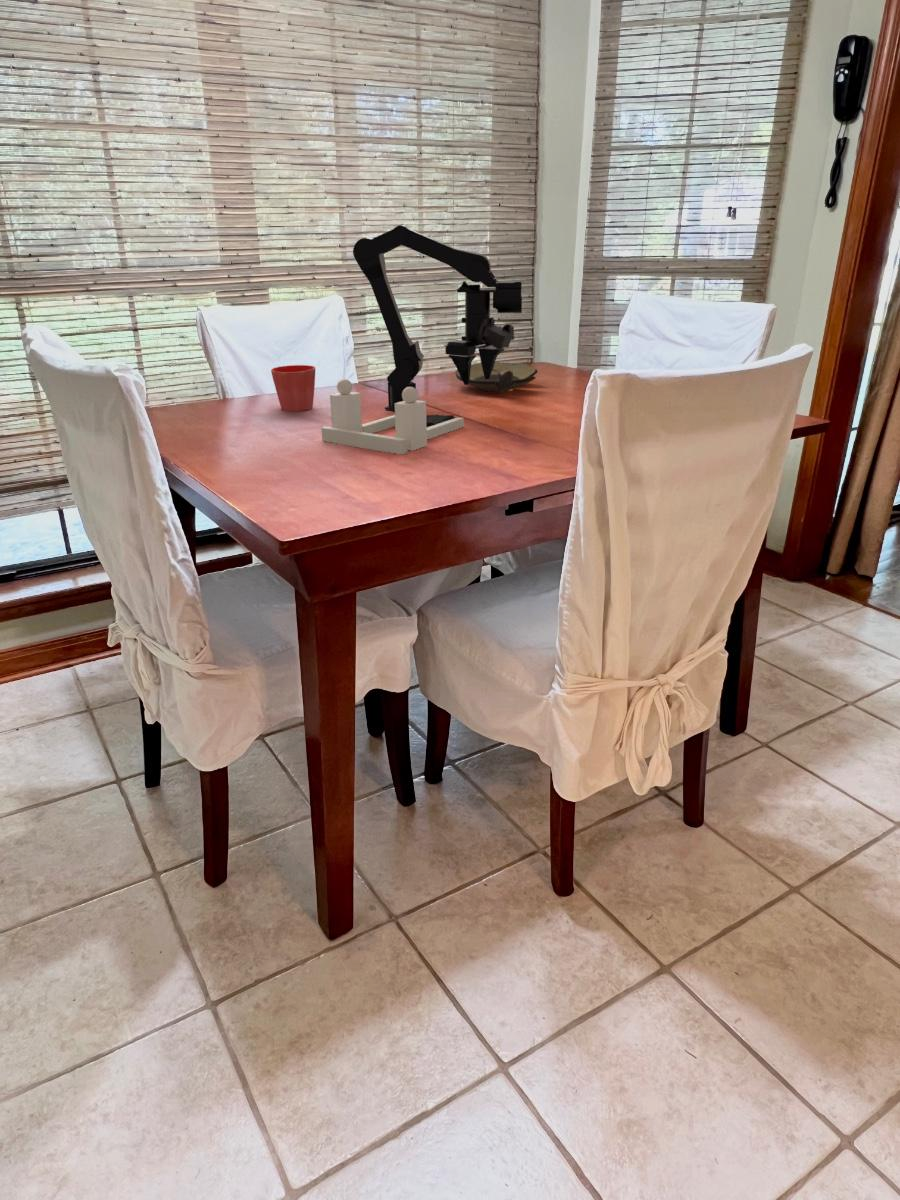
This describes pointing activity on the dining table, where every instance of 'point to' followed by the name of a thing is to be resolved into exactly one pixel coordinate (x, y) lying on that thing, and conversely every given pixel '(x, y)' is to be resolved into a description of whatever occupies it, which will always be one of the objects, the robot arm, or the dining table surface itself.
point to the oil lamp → (500, 376)
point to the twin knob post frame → (382, 423)
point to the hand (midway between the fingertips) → (477, 381)
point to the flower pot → (294, 386)
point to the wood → (437, 419)
